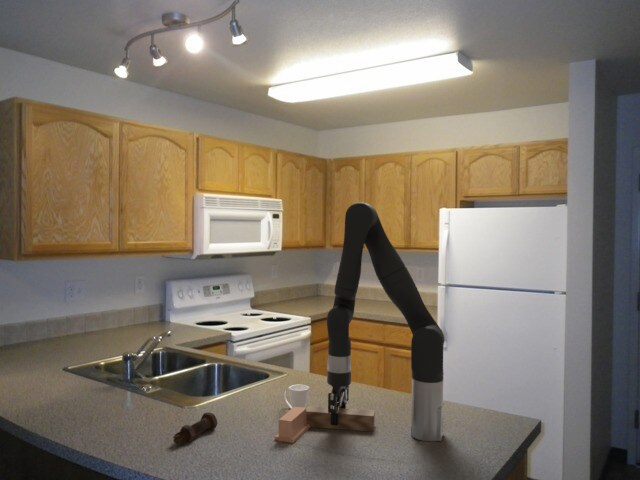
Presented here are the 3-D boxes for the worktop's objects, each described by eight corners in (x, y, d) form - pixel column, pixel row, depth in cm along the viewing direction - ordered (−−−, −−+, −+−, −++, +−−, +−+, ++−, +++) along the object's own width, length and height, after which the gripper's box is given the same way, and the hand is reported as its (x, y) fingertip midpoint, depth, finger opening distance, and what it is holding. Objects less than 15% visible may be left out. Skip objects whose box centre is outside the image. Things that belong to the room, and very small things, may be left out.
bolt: (174, 452, 150) (208, 432, 163) (186, 446, 148) (220, 427, 161) (166, 433, 151) (201, 414, 164) (178, 427, 149) (212, 409, 162)
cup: (299, 416, 174) (300, 391, 174) (277, 409, 180) (277, 385, 180) (313, 410, 179) (313, 387, 179) (291, 404, 185) (291, 381, 185)
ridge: (309, 427, 164) (310, 407, 164) (293, 443, 152) (293, 422, 152) (291, 424, 167) (292, 405, 166) (274, 440, 154) (274, 419, 154)
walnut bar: (374, 426, 167) (374, 410, 167) (373, 432, 162) (373, 416, 162) (305, 421, 170) (306, 405, 170) (302, 427, 165) (303, 411, 165)
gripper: (344, 376, 158) (343, 430, 158) (357, 364, 171) (356, 414, 171) (320, 373, 160) (319, 427, 161) (335, 362, 174) (334, 411, 174)
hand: (338, 420), depth 166 cm, fingers open, 7 cm apart
